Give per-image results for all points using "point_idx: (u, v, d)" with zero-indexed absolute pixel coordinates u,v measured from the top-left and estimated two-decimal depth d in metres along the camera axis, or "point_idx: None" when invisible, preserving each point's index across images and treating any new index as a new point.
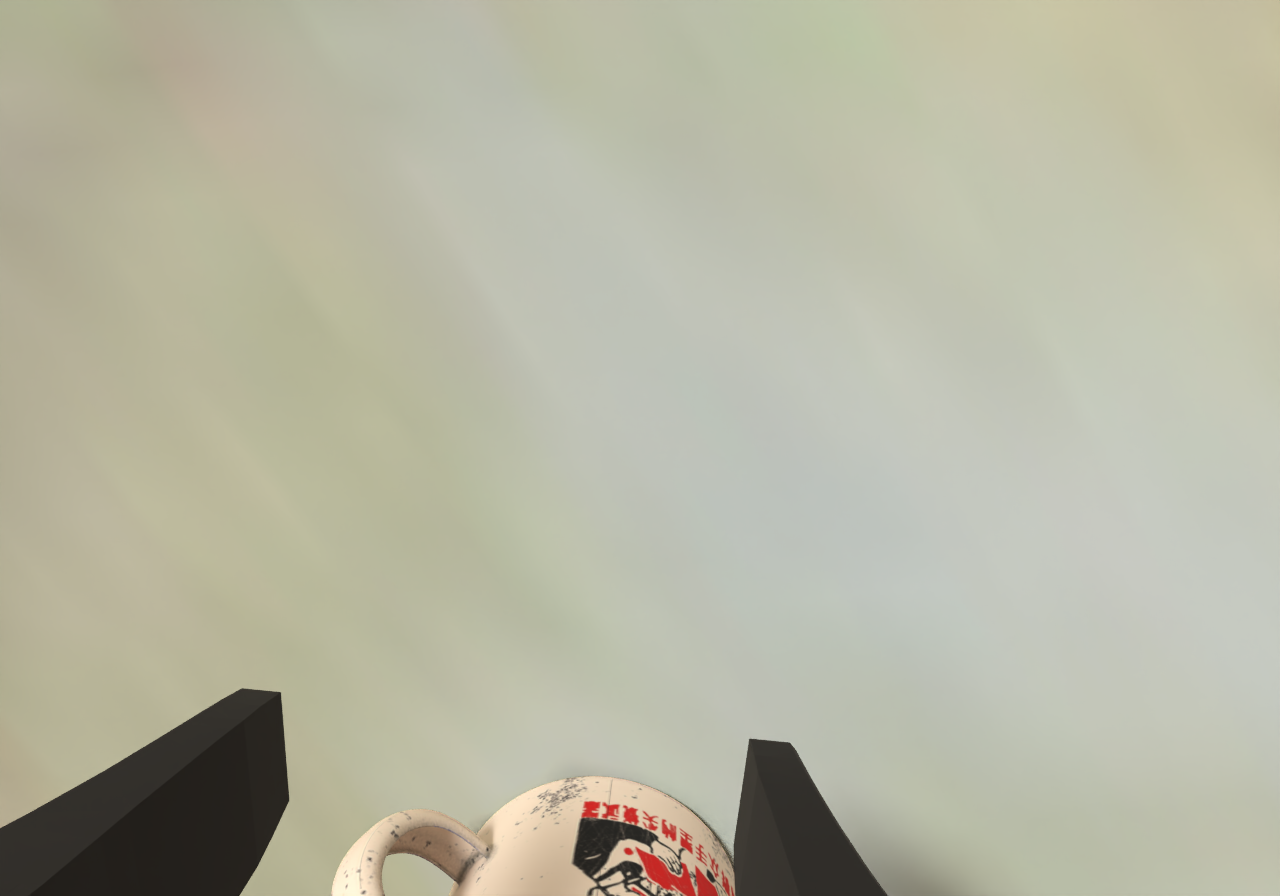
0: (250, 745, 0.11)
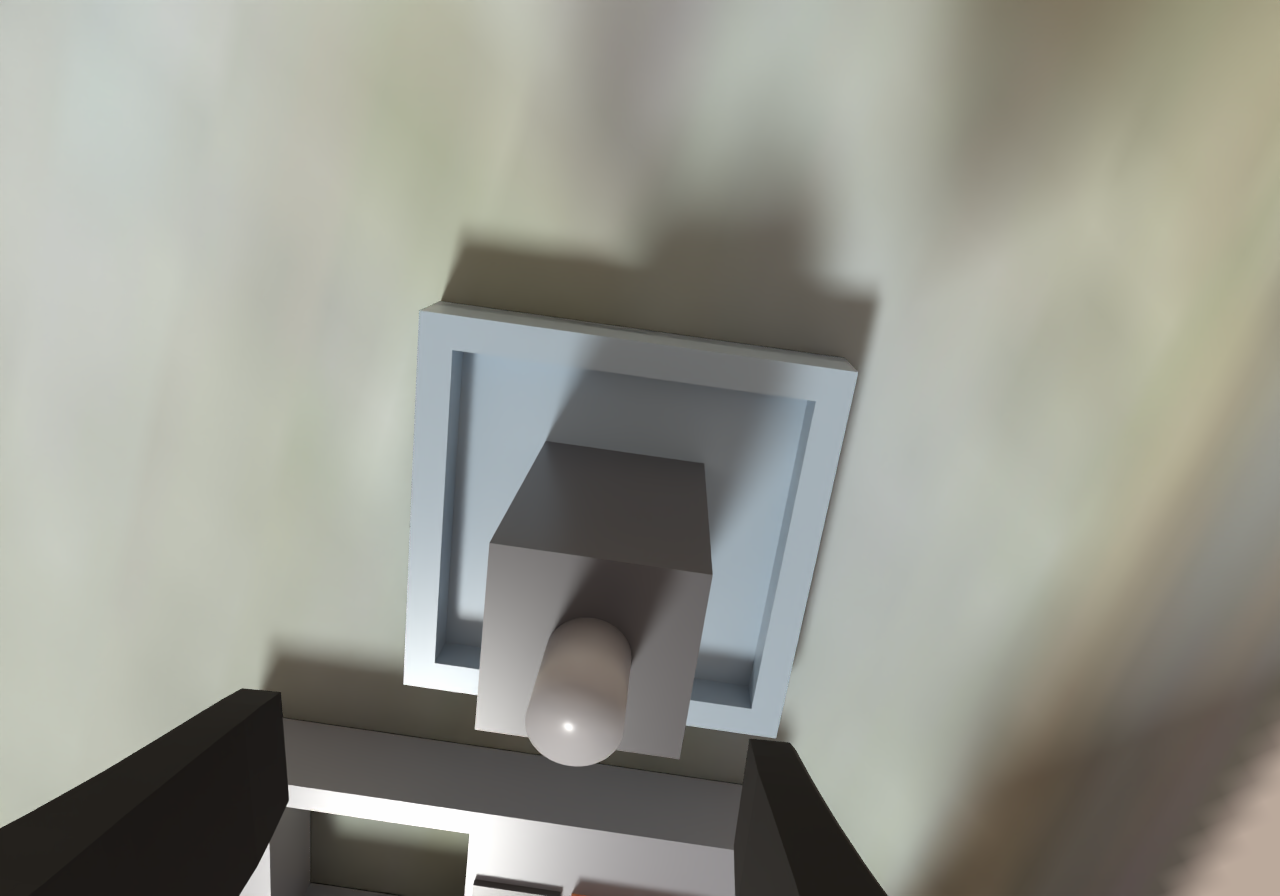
0: (250, 745, 0.11)
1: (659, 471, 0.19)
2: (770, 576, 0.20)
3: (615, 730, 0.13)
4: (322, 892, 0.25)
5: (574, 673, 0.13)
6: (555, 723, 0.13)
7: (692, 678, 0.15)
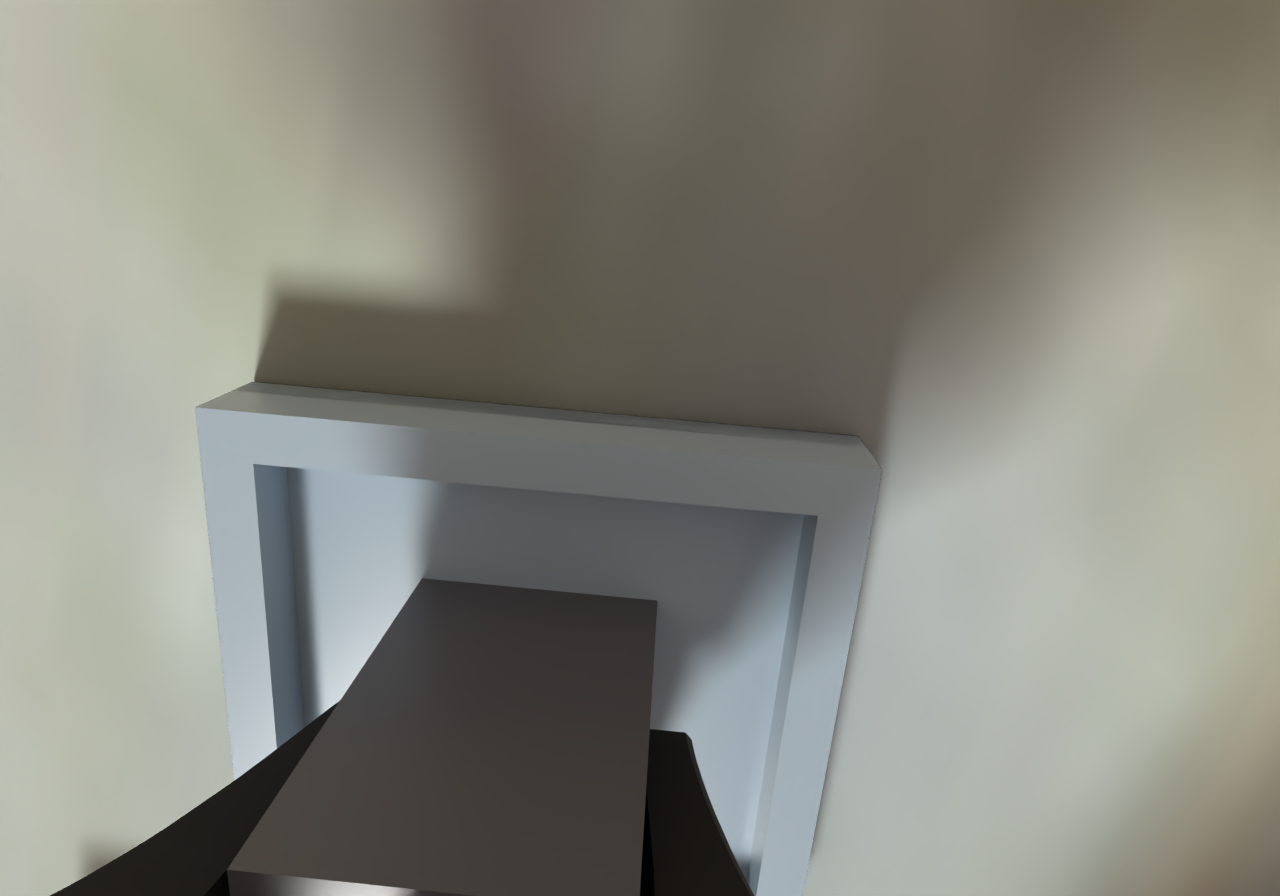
0: None
1: (585, 627, 0.12)
2: (765, 751, 0.14)
3: None
4: None
5: None
6: None
7: None
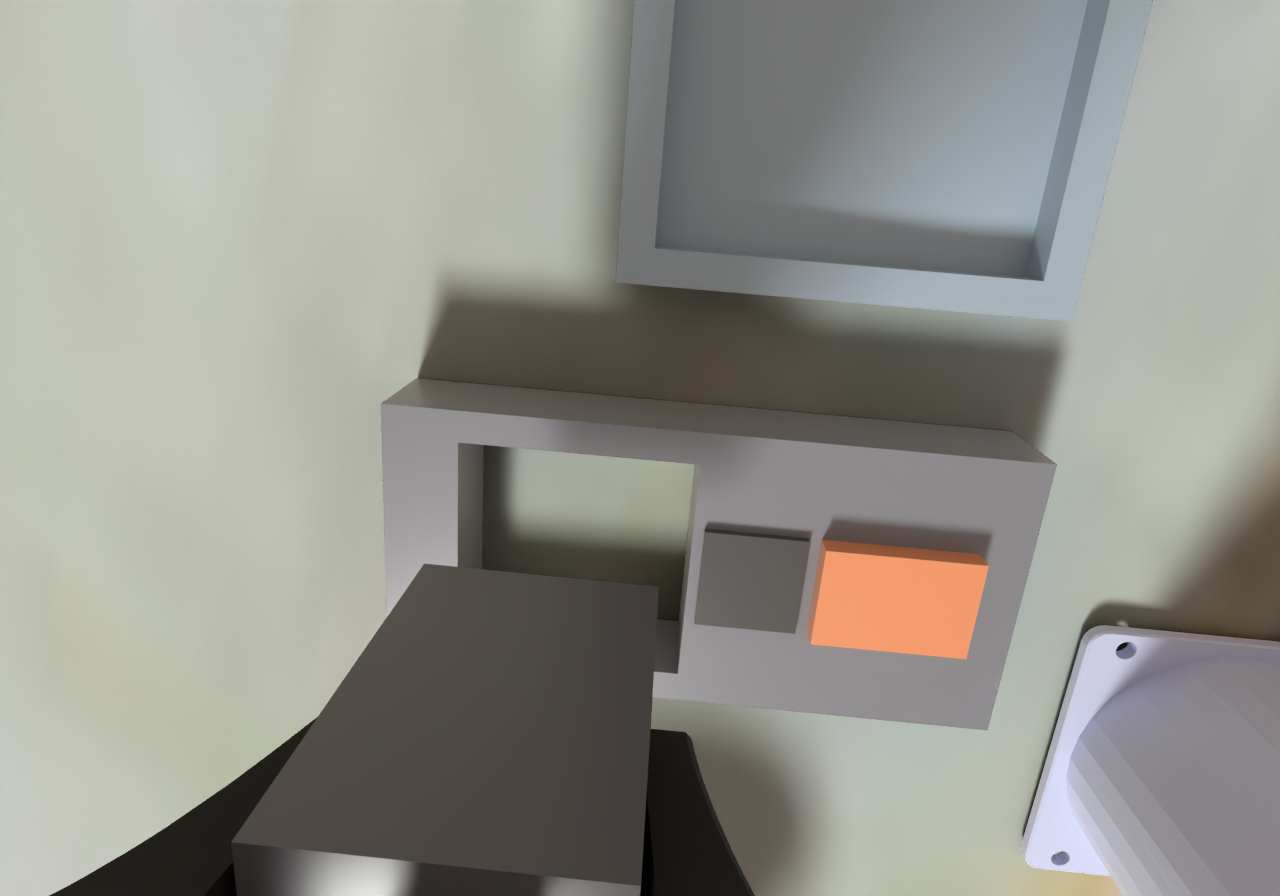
0: None
1: (587, 611, 0.12)
2: (1059, 116, 0.17)
3: None
4: None
5: None
6: None
7: None
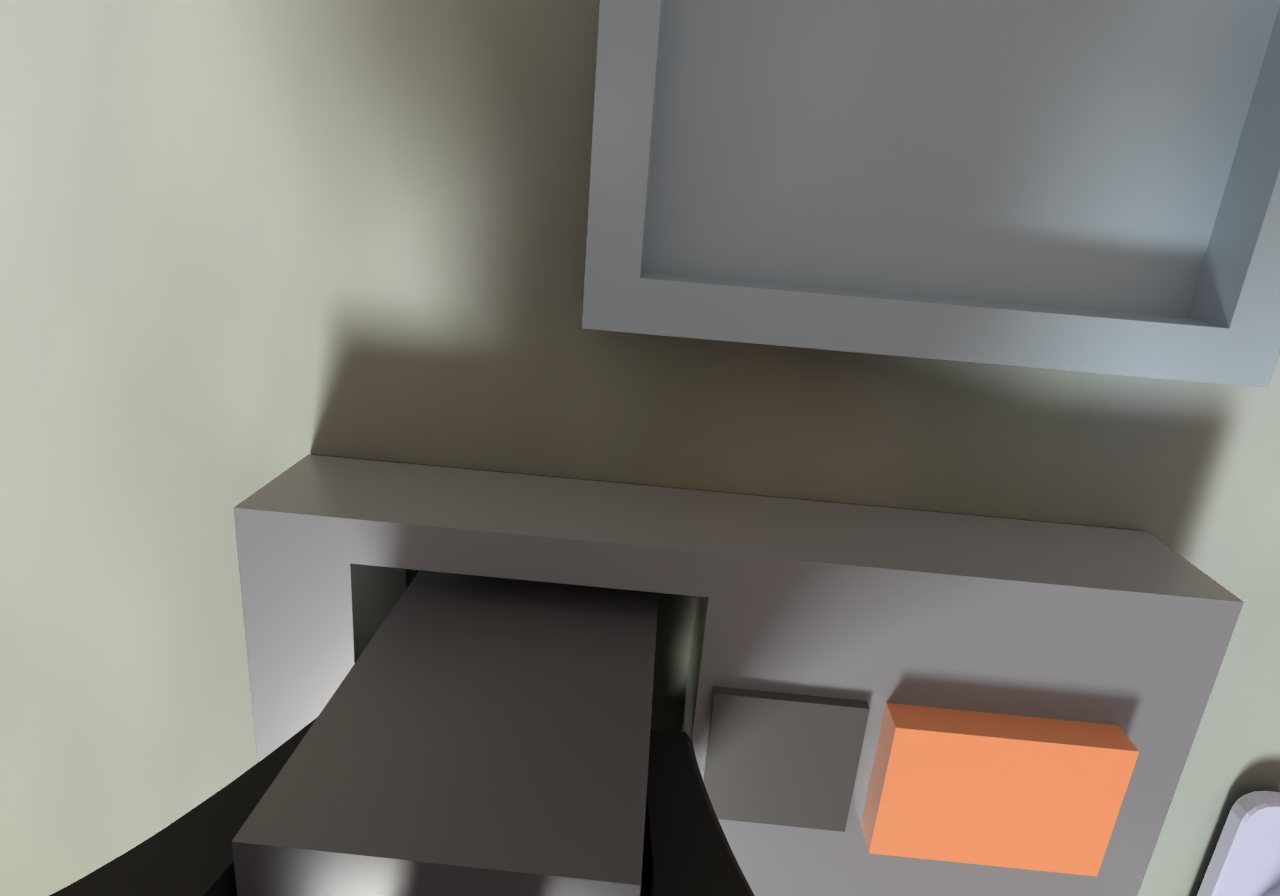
0: None
1: (587, 611, 0.12)
2: (1255, 77, 0.11)
3: None
4: None
5: None
6: None
7: None
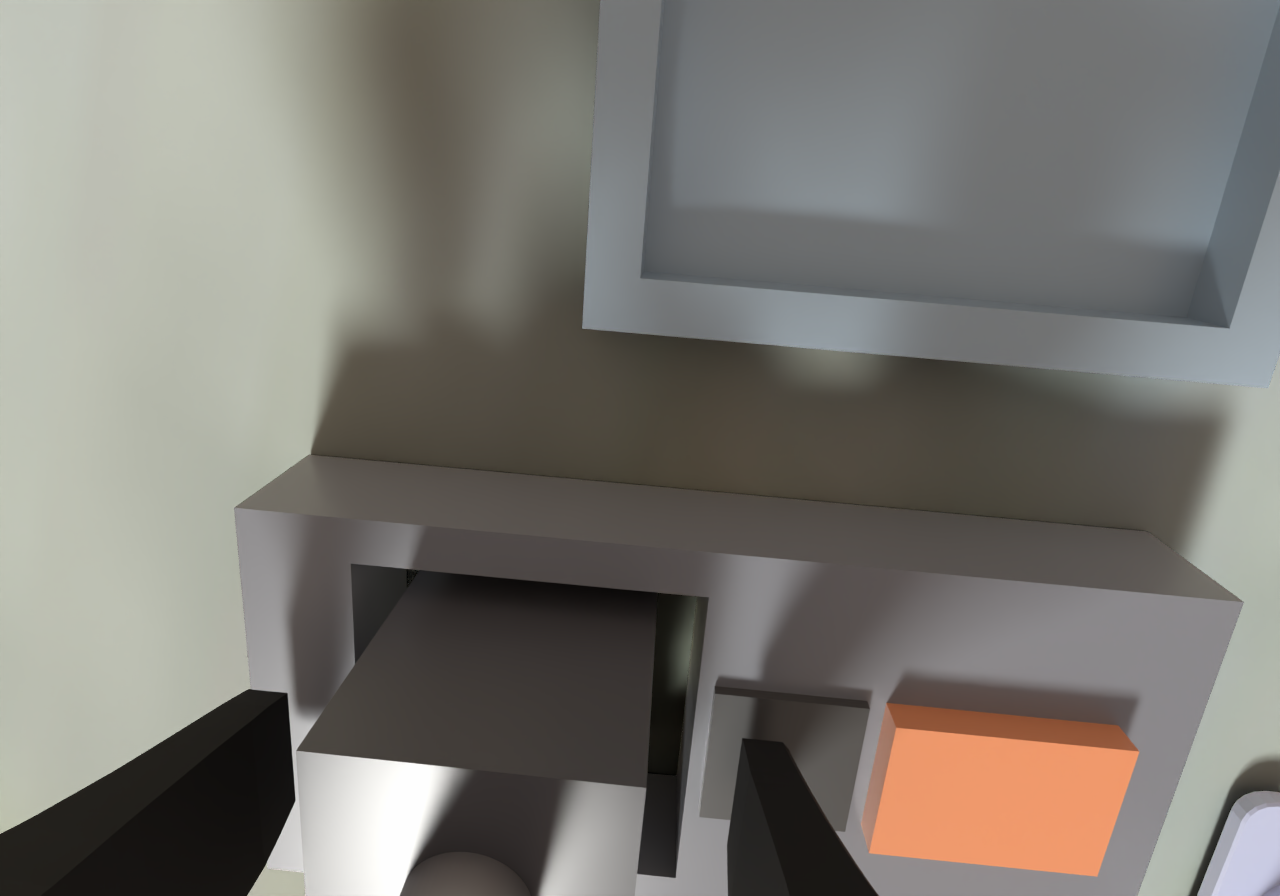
0: (258, 746, 0.11)
1: None
2: (1256, 77, 0.11)
3: None
4: None
5: None
6: None
7: None
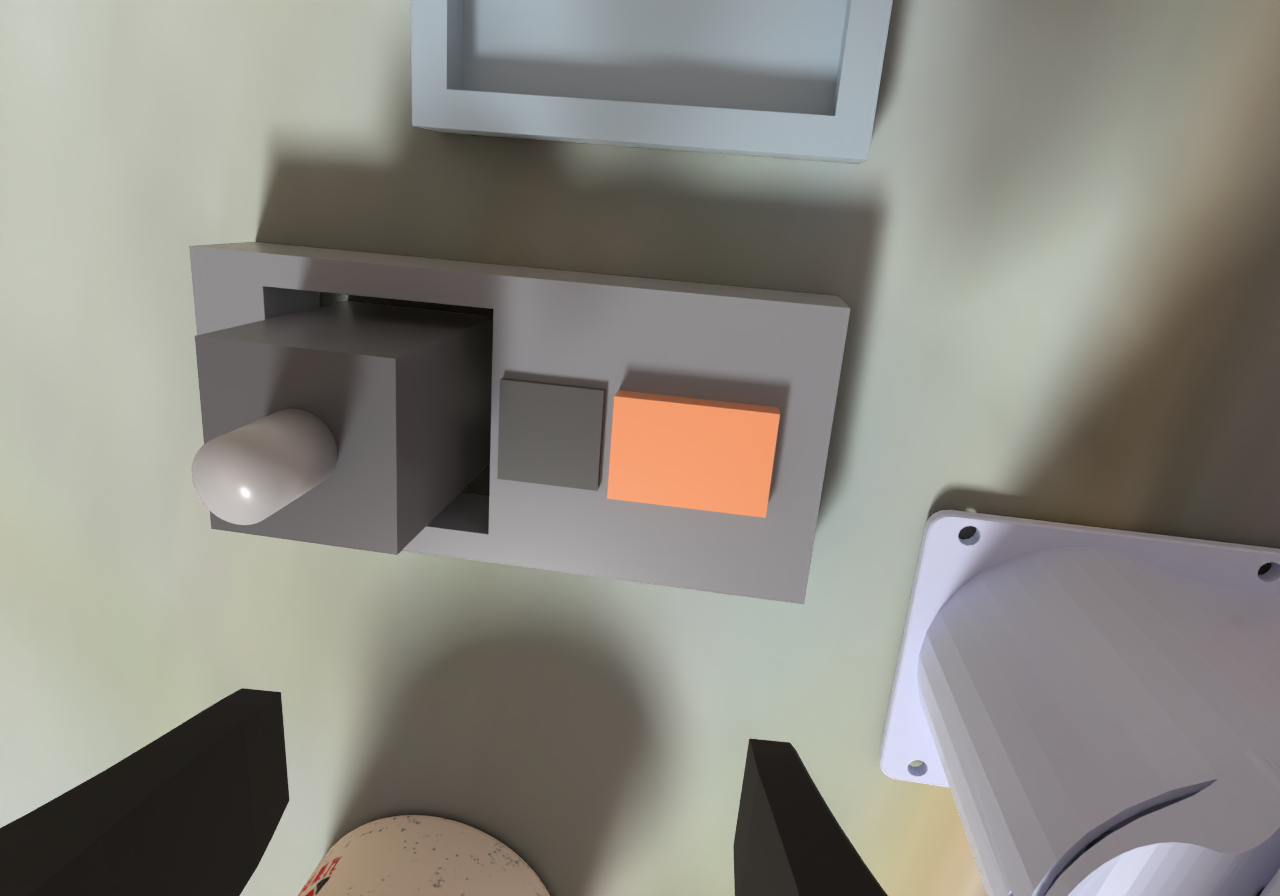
0: (250, 745, 0.11)
1: (438, 317, 0.19)
2: None
3: (270, 484, 0.13)
4: None
5: (236, 433, 0.14)
6: (218, 480, 0.14)
7: (395, 468, 0.15)
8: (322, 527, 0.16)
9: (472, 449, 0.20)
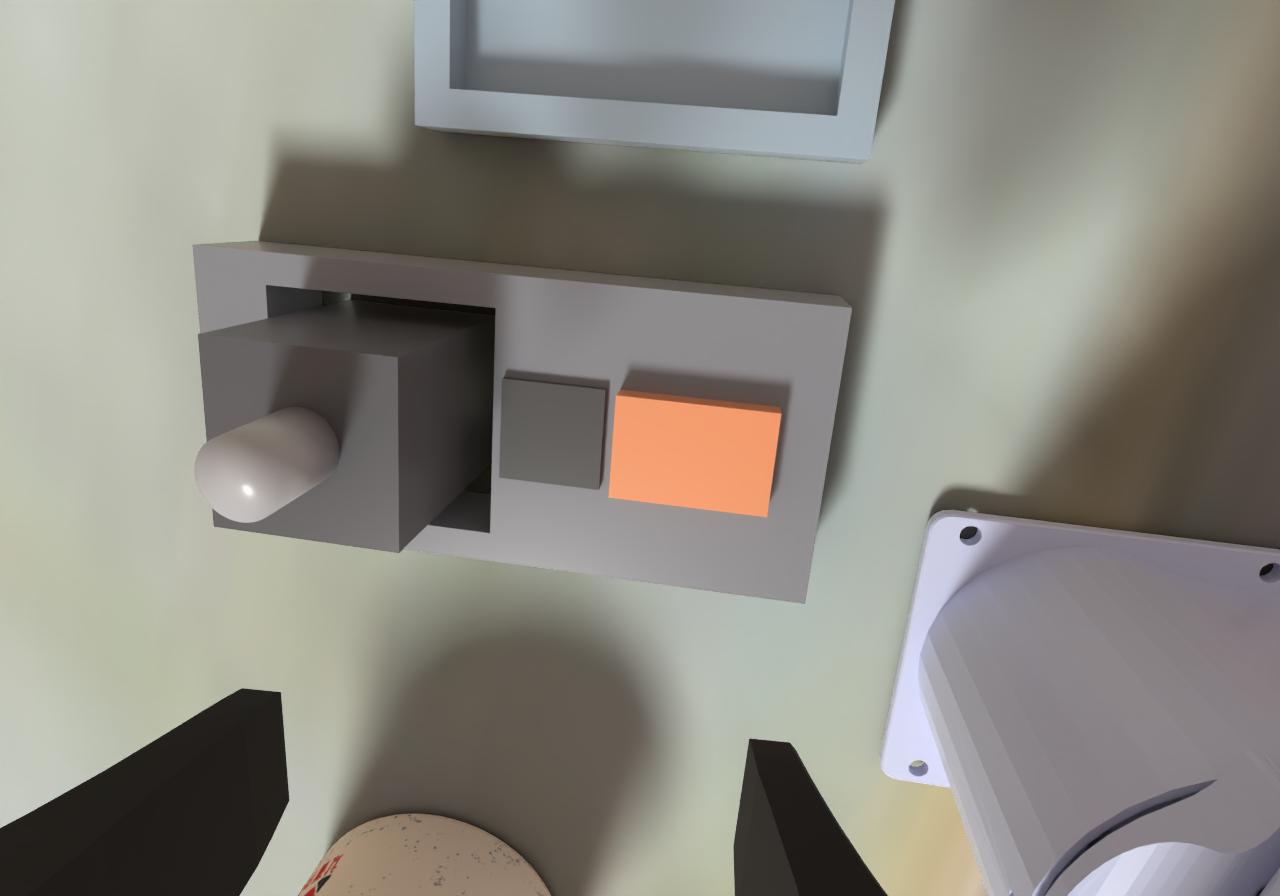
0: (250, 745, 0.11)
1: (441, 316, 0.19)
2: None
3: (272, 482, 0.13)
4: None
5: (238, 431, 0.14)
6: (221, 478, 0.14)
7: (397, 466, 0.15)
8: (324, 525, 0.16)
9: (474, 448, 0.20)
